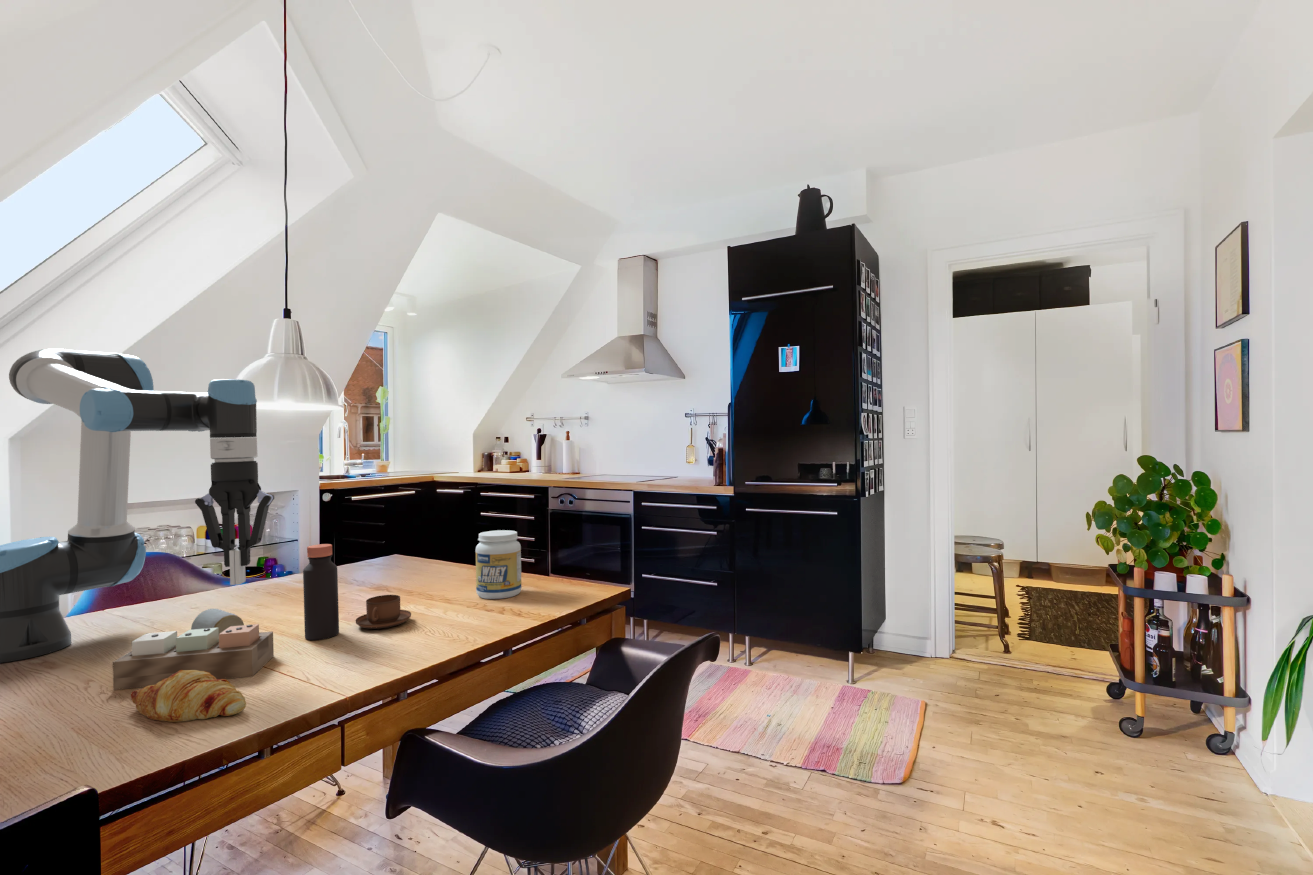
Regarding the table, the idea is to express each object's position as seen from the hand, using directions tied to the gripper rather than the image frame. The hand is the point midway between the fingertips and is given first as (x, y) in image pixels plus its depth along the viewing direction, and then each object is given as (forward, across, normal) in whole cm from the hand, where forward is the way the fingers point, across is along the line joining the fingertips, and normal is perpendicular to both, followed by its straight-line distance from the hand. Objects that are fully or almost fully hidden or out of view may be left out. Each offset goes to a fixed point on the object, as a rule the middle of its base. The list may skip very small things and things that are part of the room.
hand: (238, 582), depth 122 cm
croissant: (+17, 0, -20) cm, 26 cm away
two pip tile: (+12, -7, 0) cm, 14 cm away
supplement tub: (+17, +48, +42) cm, 66 cm away
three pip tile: (+12, 0, 0) cm, 12 cm away
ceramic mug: (+17, -10, +18) cm, 27 cm away
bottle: (+17, +10, +17) cm, 26 cm away
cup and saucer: (+17, +22, +22) cm, 35 cm away
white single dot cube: (+12, -14, 0) cm, 19 cm away
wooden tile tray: (+16, -7, 0) cm, 18 cm away
